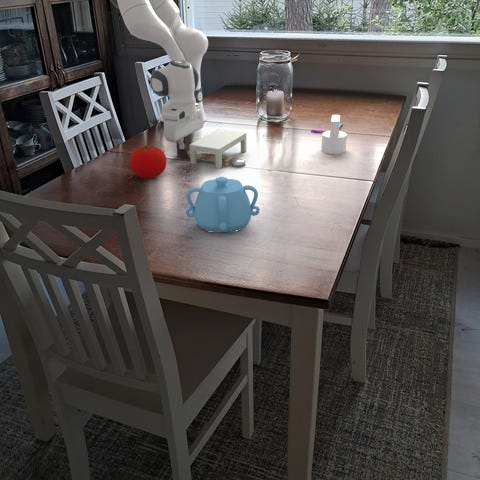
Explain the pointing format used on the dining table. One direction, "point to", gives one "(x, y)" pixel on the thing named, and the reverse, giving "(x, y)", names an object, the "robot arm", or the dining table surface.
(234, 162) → the steel puck
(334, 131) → the cylinder with rectangular tab
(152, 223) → the dining table surface
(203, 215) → the decorative pot
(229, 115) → the dining table surface
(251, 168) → the dining table surface
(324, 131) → the squeegee
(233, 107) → the dining table surface
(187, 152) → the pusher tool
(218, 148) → the low bench
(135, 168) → the tomato
